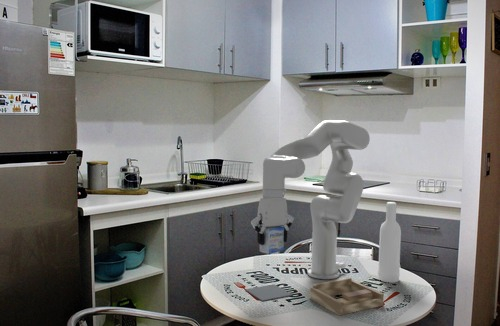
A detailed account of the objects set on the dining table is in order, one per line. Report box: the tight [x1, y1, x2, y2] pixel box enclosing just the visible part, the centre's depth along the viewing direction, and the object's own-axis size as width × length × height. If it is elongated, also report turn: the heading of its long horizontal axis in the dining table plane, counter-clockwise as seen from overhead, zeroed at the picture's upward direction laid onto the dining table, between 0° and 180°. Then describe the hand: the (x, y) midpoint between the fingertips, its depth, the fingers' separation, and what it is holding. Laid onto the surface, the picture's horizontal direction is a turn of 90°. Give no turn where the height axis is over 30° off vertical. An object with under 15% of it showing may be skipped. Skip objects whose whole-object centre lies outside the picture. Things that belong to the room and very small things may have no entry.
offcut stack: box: [336, 289, 373, 306], centre depth 166 cm, size 14×4×5 cm, turn 119°
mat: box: [245, 283, 293, 302], centre depth 178 cm, size 12×12×1 cm
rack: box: [309, 277, 384, 316], centre depth 170 cm, size 18×16×5 cm
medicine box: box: [259, 226, 285, 255], centre depth 176 cm, size 8×4×9 cm, turn 134°
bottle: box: [377, 201, 402, 283], centre depth 193 cm, size 8×8×30 cm
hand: (272, 242), depth 176 cm, fingers closed on medicine box, 8 cm apart
